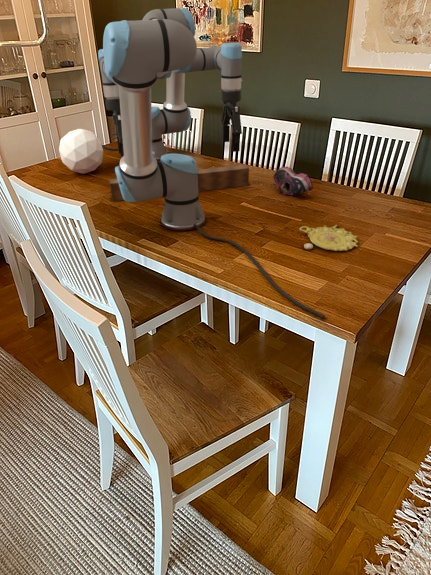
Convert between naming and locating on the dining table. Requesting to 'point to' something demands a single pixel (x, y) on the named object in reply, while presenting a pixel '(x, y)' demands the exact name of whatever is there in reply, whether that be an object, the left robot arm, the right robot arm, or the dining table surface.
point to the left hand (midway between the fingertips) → (231, 146)
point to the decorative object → (330, 238)
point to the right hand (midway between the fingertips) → (124, 157)
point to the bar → (205, 179)
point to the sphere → (81, 151)
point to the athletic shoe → (292, 181)
